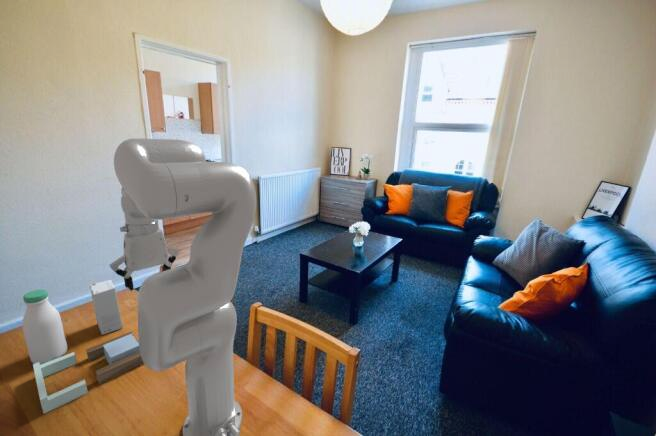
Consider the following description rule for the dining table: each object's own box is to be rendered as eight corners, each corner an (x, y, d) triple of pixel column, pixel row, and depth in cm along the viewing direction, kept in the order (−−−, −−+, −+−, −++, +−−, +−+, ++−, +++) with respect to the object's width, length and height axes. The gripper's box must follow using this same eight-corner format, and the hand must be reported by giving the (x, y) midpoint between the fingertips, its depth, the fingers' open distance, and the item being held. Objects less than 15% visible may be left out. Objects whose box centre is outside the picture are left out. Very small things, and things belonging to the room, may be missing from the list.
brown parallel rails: (146, 362, 83) (145, 353, 82) (99, 384, 75) (97, 375, 74) (132, 339, 91) (131, 331, 90) (87, 358, 83) (86, 349, 82)
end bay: (87, 392, 72) (85, 379, 71) (43, 414, 67) (40, 400, 66) (75, 360, 82) (73, 348, 81) (36, 376, 76) (32, 364, 75)
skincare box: (123, 328, 96) (116, 288, 92) (100, 336, 92) (92, 294, 88) (118, 316, 102) (111, 278, 98) (96, 323, 98) (88, 283, 93)
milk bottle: (70, 355, 84) (56, 293, 78) (32, 370, 78) (14, 304, 73) (66, 342, 89) (52, 283, 83) (30, 354, 83) (13, 292, 78)
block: (141, 357, 85) (139, 344, 83) (112, 371, 79) (110, 357, 78) (133, 346, 89) (131, 333, 88) (105, 358, 84) (103, 345, 82)
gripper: (108, 238, 72) (118, 299, 77) (180, 225, 85) (185, 278, 89) (100, 230, 77) (110, 288, 81) (170, 219, 89) (175, 270, 94)
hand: (149, 283), depth 85 cm, fingers open, 9 cm apart
